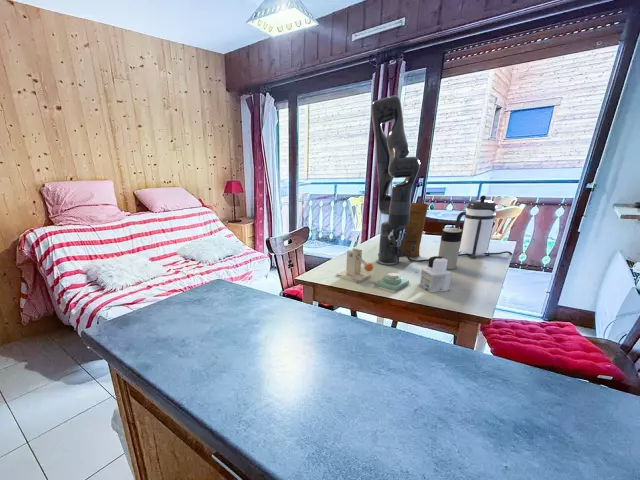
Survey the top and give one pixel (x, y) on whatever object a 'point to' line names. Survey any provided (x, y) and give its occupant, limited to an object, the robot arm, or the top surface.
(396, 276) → the button
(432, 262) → the container
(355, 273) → the switch bracket
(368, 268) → the switch lever
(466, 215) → the coffee press
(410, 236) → the pancake mix bag
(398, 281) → the button box
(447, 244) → the travel mug
